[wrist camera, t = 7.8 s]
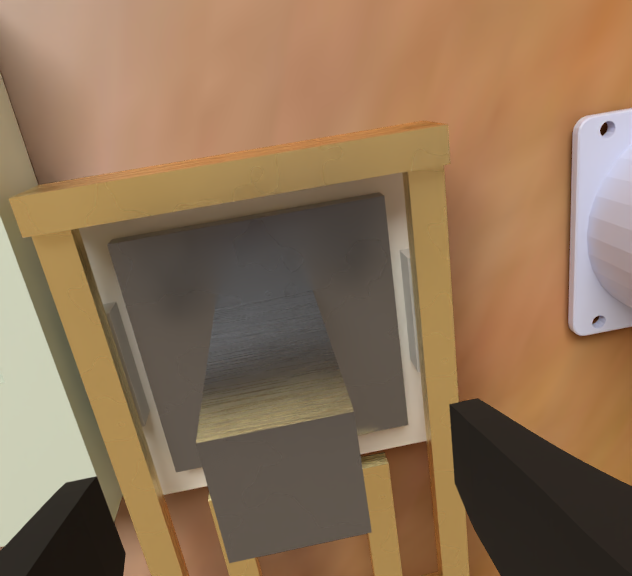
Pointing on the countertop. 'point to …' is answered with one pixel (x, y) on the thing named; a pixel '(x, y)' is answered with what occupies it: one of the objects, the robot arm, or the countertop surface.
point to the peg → (271, 362)
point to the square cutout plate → (37, 368)
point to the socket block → (104, 233)
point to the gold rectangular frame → (233, 185)
